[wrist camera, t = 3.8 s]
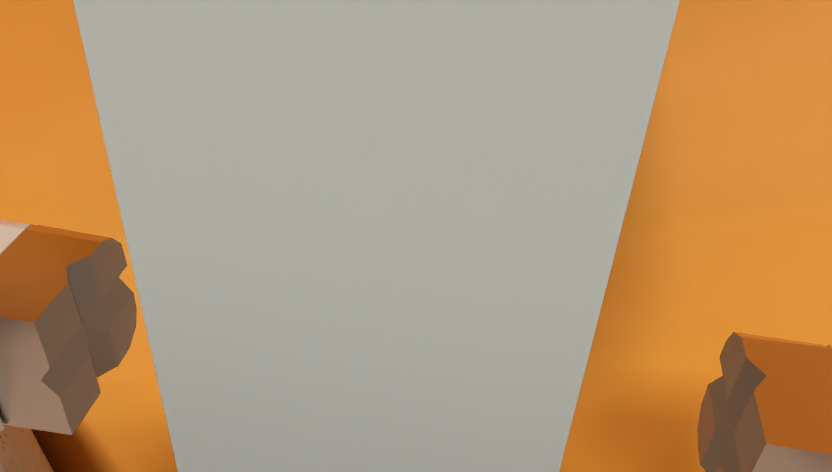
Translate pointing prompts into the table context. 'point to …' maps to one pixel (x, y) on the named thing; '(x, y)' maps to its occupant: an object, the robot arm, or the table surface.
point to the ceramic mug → (21, 451)
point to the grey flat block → (372, 218)
